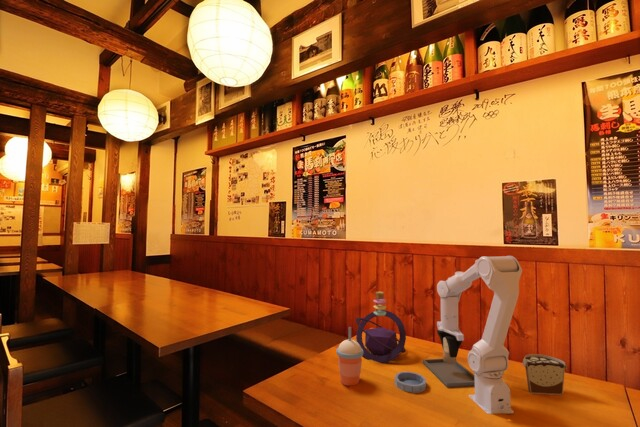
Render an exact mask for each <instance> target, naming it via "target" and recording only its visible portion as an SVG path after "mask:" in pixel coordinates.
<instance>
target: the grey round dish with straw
mask: <svg viewBox="0 0 640 427" xmlns="http://www.w3.org/2000/svg"><path fill="white" fill-rule="evenodd" d="M335 350H336V351H335V352H336V355H337V356H338V358H337V359H338V360H337V361H338V370H339V377H340V383H341V384H342V385H344V386H346V387H350V386H354V385H357V384H359V382H360V380H361V379H360V377H361V371H362V370H361V368H362V363H363V362H362V361H363V360H362V357H364V356H363V353H364V352H363V349H362V348H361V346H360V345H359V343H358V342H357V340H354V339H352V327H351V326H349V327H348V339H344V340H343V341H341V343H339V346H338V347H337V348H336V349H335Z"/></svg>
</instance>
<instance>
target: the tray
mask: <svg viewBox="0 0 640 427" xmlns="http://www.w3.org/2000/svg"><path fill="white" fill-rule="evenodd" d="M422 364H423V365H424V366H425V368H427V369H428V371H430V372H431V373H432V374H433V375H434V376H435V378H437V379H438V380H439V381H440V382H441V384H443V385H444V387H446V389H449V388H467V387H473V388H475V377H474V373H472V372H471V371H470V370H469V369H467V368H466V367H464V366H463V364H461V363H459V361H457V360H456V364H447V363H445V362H444V358H427V359H426V358H425V359H422Z"/></svg>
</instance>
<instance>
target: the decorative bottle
mask: <svg viewBox="0 0 640 427" xmlns="http://www.w3.org/2000/svg"><path fill="white" fill-rule="evenodd" d="M375 295H376V296H375V299H373V300H372V301H373V303H375V305H373V308H374V309H375V311H372V312H370V313H368V314H366V316H364V317H356V318H355V323H356V325H357V326H358V328H357V330H356V336H355V337H356V338H355V339H356V342H358V343H359V345H360V346H361V348H362V349H363V352H364V353H363V356H362V357H364V358H365V359H367V360H369V361H374V362H377V363H380V364H387V363H390V362H391V361H393V360H396V358H398V356H399V355H400V354H404V353H405V352H406V348H405V344H406V340H407V333H406V332H407V331H406V328H405V324H404V323H403V321H402V320H401V318H400V317H398V316H397V315H396V314H395V313H393V312H392V311H389V310H386V308H387V305H385V304H386V302H387V299H385V297H384V295H385V292H384V291H375ZM375 317H376V318H377V317H385V318H386V317H387V318H389V319H391V320H392V322H394V323H395V324H396V326H397V328H398V333H399V339H398V337H397V336H398V335H397V332H396V331H394V330H391V329H387V328H385V327H383V326H381V325H380V324H379V323H377V322H374V321H373V320H372V319H374V318H375ZM367 323H370V324H373V325H375V326H377V327H374V328H366V329H364V328H365V326H366V325H367ZM363 333H364V337H365V338H364V339H365V340H364V343H363Z"/></svg>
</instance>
